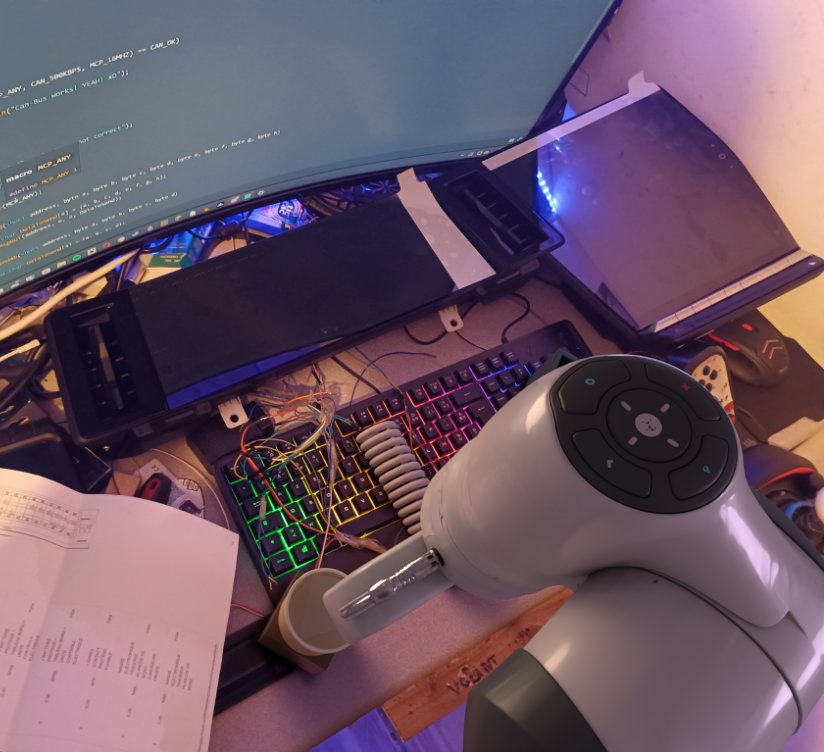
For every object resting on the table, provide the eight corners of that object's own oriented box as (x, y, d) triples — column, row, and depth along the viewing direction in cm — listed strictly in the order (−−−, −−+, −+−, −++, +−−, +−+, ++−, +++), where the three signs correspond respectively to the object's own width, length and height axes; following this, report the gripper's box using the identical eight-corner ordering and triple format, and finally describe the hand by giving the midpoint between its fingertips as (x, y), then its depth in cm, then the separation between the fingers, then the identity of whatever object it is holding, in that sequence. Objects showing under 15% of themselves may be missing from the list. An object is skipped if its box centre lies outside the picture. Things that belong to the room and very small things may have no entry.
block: (339, 617, 72) (359, 605, 62) (310, 673, 69) (326, 671, 59) (287, 586, 72) (298, 570, 62) (257, 642, 70) (264, 634, 60)
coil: (486, 561, 72) (396, 409, 77) (450, 582, 70) (360, 425, 75) (467, 570, 76) (383, 425, 81) (432, 590, 74) (348, 441, 79)
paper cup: (359, 604, 62) (379, 593, 55) (327, 672, 59) (342, 669, 52) (298, 569, 62) (309, 553, 55) (263, 634, 60) (270, 626, 53)
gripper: (381, 665, 38) (340, 673, 50) (657, 484, 44) (559, 531, 56) (320, 558, 39) (295, 591, 52) (594, 399, 46) (513, 463, 58)
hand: (435, 559), depth 54 cm, fingers open, 8 cm apart
